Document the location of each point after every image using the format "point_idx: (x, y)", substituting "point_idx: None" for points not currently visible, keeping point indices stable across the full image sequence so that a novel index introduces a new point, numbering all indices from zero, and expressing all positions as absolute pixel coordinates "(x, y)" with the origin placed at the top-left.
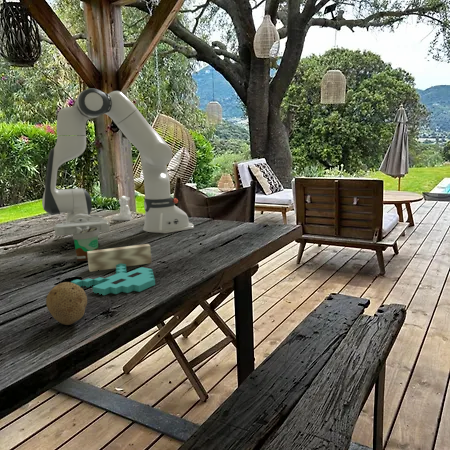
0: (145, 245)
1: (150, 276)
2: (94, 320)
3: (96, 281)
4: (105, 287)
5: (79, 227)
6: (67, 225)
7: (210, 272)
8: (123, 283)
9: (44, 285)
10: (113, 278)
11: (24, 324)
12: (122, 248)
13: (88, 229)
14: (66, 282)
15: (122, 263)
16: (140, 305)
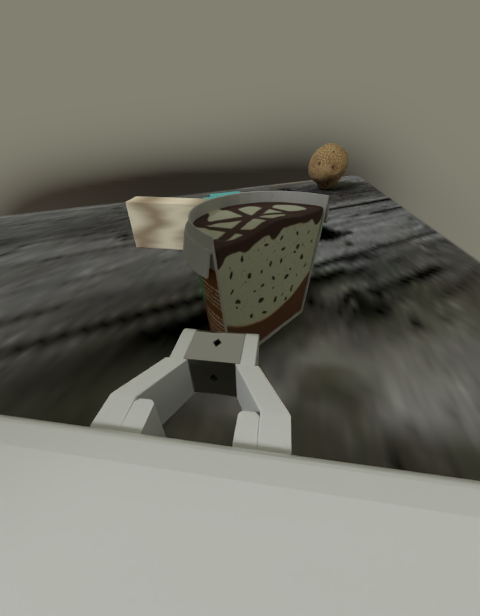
0: (142, 198)
1: (209, 197)
2: (300, 188)
3: None
4: None
5: (244, 418)
6: (476, 523)
7: (121, 203)
8: None
9: (371, 234)
10: None
11: (367, 194)
12: (199, 200)
13: (230, 239)
14: (330, 143)
15: None
16: (252, 190)
